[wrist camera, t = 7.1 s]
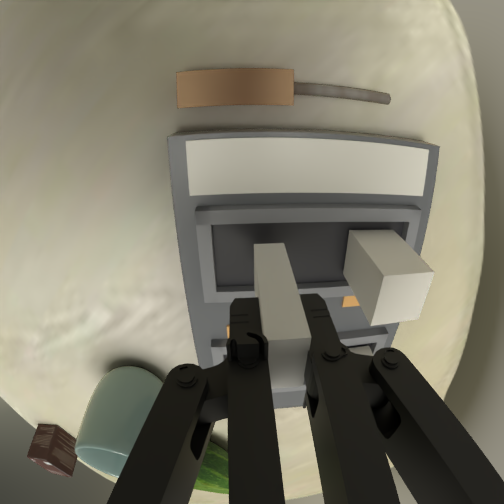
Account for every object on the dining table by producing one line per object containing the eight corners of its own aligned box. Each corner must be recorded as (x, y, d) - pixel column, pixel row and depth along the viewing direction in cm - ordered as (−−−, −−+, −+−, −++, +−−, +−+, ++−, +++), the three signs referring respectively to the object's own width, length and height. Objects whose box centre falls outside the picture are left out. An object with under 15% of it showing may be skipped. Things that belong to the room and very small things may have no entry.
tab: (349, 230, 17) (383, 275, 13) (392, 229, 17) (434, 272, 13) (342, 273, 18) (370, 326, 14) (384, 271, 18) (418, 319, 14)
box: (61, 441, 36) (51, 473, 30) (37, 422, 34) (25, 456, 27) (82, 443, 36) (72, 478, 29) (58, 424, 33) (45, 461, 26)
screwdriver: (183, 107, 16) (177, 108, 14) (182, 75, 15) (176, 72, 13) (380, 113, 16) (394, 116, 14) (381, 84, 15) (396, 83, 13)
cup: (143, 345, 24) (116, 445, 15) (191, 393, 27) (184, 482, 19) (88, 363, 25) (57, 445, 16) (136, 405, 29) (120, 482, 20)
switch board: (174, 133, 16) (163, 138, 14) (422, 141, 17) (446, 149, 14) (210, 394, 27) (208, 417, 25) (363, 381, 28) (371, 402, 26)
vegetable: (190, 487, 24) (259, 513, 33) (217, 436, 29) (275, 478, 38) (146, 464, 27) (221, 500, 37) (172, 420, 33) (238, 467, 42)
